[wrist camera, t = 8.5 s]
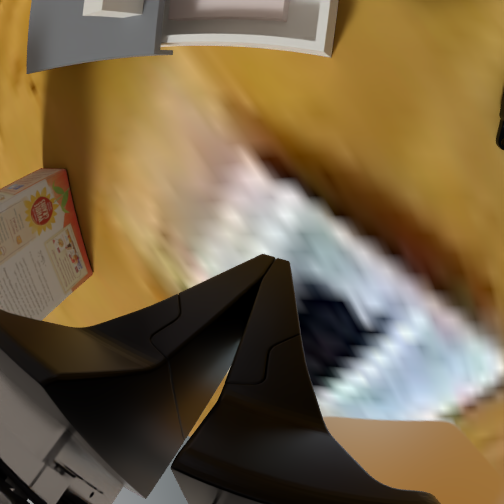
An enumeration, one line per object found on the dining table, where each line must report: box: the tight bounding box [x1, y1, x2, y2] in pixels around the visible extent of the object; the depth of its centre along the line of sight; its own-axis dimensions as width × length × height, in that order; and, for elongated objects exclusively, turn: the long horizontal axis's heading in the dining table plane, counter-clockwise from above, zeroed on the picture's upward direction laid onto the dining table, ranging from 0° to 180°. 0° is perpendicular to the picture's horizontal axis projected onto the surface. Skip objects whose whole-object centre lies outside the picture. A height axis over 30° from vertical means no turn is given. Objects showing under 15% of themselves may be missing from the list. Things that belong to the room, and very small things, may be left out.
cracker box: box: [0, 168, 93, 321], centre depth 24 cm, size 14×6×21 cm, turn 179°
